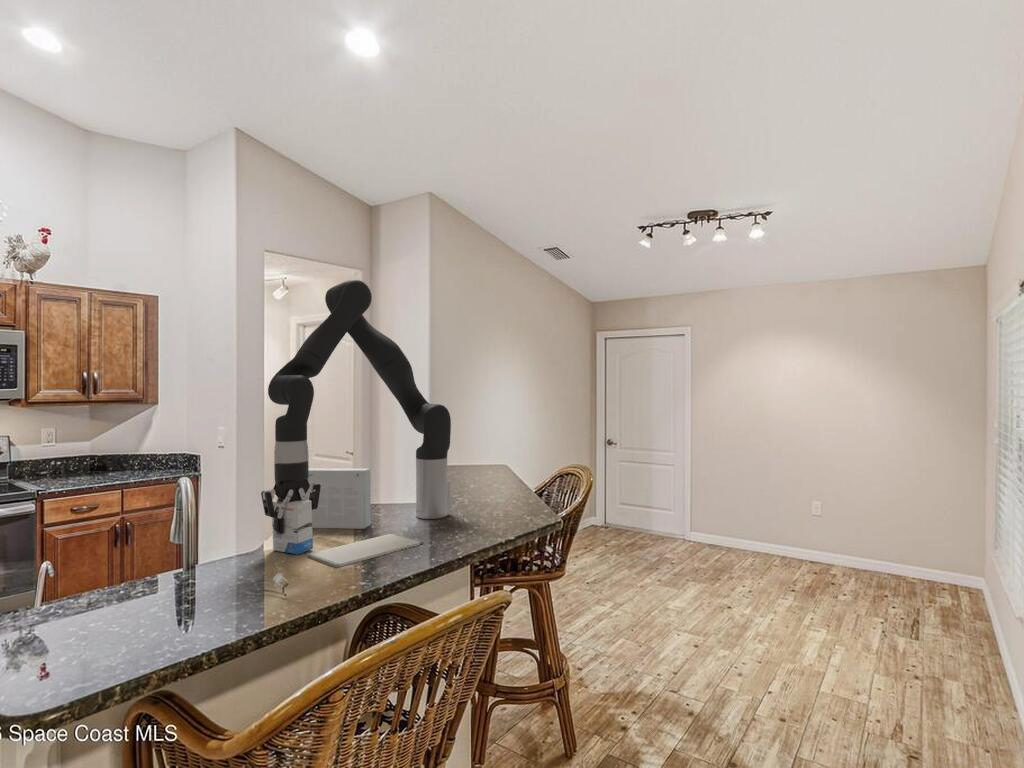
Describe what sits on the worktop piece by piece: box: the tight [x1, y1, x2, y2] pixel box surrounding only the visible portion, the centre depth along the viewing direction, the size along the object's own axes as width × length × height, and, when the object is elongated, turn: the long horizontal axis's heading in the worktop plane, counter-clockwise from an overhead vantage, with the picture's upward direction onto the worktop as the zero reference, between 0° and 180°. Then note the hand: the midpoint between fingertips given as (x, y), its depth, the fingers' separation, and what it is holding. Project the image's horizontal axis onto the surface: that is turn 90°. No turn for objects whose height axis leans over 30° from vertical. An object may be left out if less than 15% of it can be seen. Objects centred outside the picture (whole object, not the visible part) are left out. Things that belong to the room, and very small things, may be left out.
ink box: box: [271, 499, 314, 556], centre depth 136 cm, size 9×5×12 cm, turn 62°
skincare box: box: [305, 467, 372, 530], centre depth 160 cm, size 21×5×16 cm, turn 84°
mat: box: [306, 532, 424, 569], centre depth 136 cm, size 24×12×1 cm, turn 139°
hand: (292, 530), depth 136 cm, fingers closed on ink box, 5 cm apart
